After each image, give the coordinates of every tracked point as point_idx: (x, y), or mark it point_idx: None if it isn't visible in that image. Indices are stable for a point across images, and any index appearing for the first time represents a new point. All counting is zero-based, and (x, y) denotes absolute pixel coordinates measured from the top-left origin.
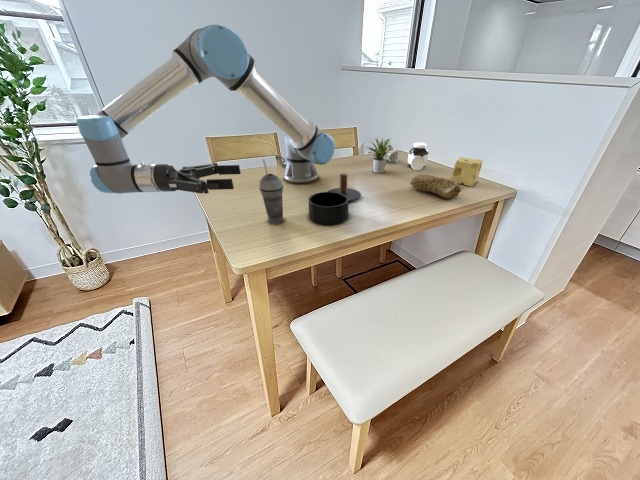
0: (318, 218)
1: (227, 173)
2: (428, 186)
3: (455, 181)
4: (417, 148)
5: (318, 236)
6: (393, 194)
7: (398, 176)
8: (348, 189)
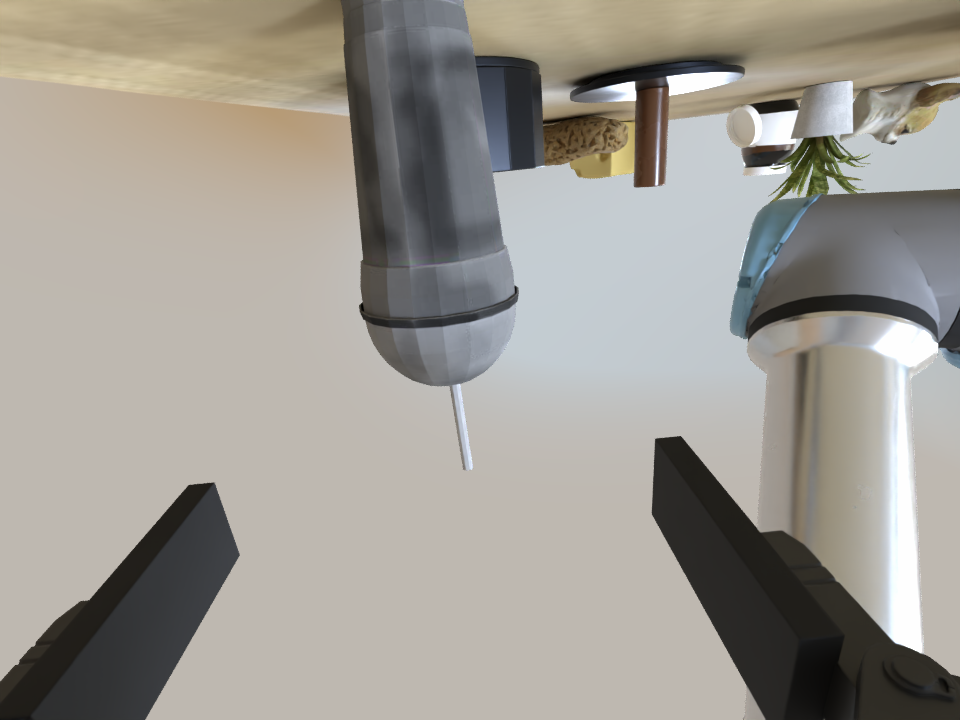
0: None
1: (718, 541)
2: (554, 145)
3: None
4: (758, 165)
5: (227, 85)
6: (592, 105)
7: (731, 98)
8: (691, 89)
